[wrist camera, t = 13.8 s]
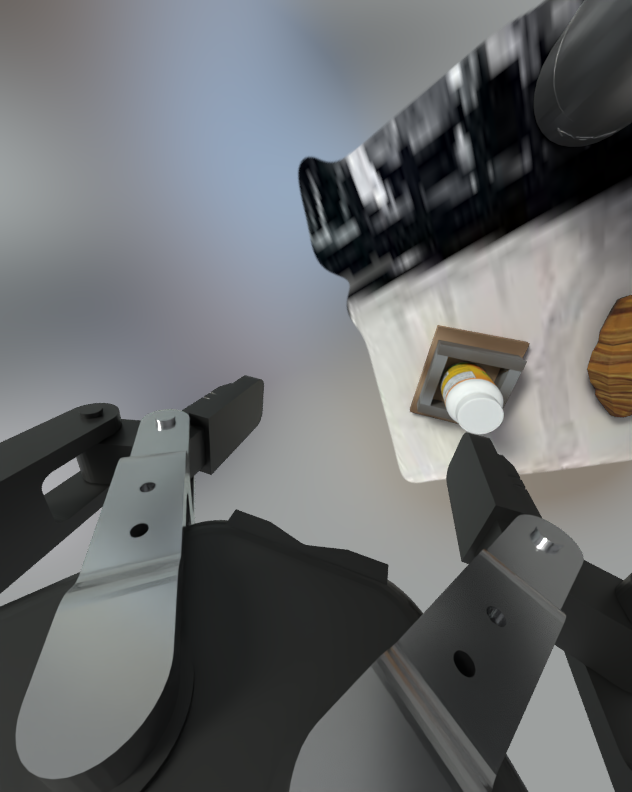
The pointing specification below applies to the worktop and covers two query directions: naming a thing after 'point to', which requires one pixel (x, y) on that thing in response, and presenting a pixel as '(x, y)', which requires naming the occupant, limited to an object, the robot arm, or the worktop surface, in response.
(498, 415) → the supplement bottle
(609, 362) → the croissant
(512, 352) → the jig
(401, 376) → the worktop surface
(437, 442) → the worktop surface
